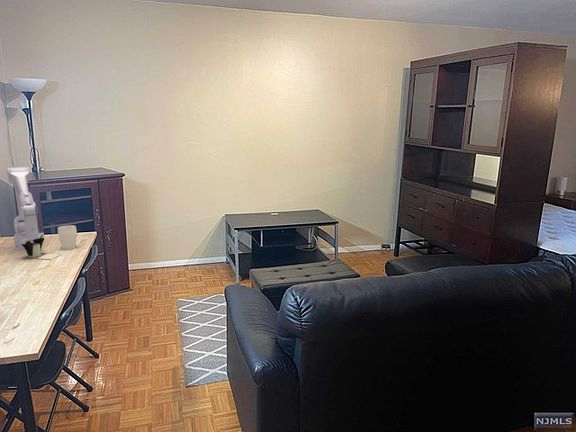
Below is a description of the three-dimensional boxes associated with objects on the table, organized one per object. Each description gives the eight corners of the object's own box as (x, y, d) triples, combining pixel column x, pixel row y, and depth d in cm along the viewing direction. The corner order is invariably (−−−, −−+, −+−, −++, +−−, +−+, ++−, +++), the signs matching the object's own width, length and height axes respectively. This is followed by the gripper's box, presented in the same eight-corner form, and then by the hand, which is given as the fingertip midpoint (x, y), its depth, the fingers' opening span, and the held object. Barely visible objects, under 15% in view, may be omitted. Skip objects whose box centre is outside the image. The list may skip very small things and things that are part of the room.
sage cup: (26, 257, 214) (24, 245, 213) (33, 253, 219) (32, 242, 218) (35, 257, 213) (34, 246, 212) (43, 254, 219) (41, 243, 217)
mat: (21, 259, 213) (21, 257, 212) (33, 253, 221) (33, 252, 221) (50, 260, 211) (50, 259, 211) (62, 255, 219) (62, 254, 219)
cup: (72, 251, 227) (70, 229, 224) (56, 250, 227) (53, 229, 224) (81, 246, 235) (79, 225, 233) (65, 245, 236) (63, 225, 233)
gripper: (28, 232, 206) (31, 258, 209) (48, 224, 220) (51, 249, 223) (15, 231, 206) (18, 257, 210) (35, 224, 221) (38, 249, 224)
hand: (34, 253), depth 216 cm, fingers closed on sage cup, 5 cm apart
